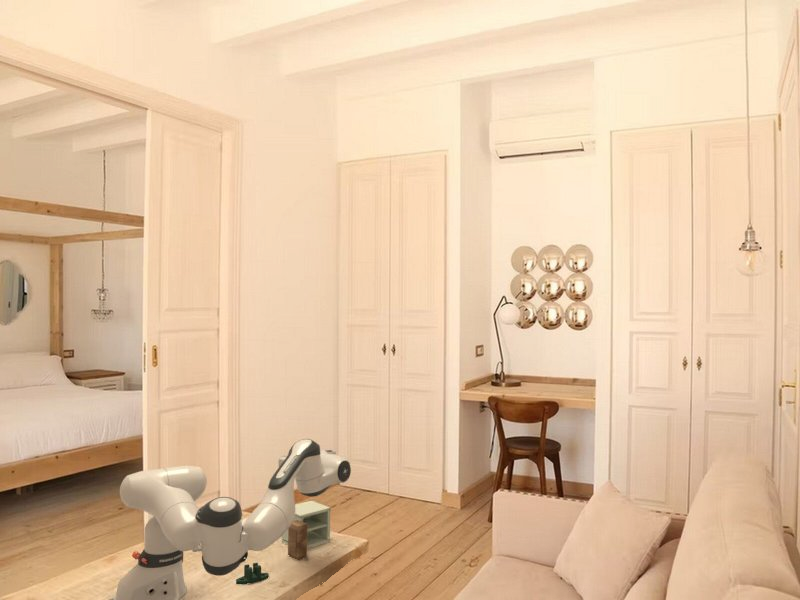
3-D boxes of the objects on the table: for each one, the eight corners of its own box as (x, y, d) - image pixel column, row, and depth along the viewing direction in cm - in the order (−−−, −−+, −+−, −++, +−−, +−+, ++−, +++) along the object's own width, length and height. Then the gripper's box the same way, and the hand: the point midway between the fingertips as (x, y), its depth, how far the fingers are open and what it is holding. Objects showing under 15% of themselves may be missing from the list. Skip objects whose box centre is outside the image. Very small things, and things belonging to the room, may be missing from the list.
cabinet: (300, 552, 236) (301, 516, 236) (279, 542, 246) (280, 508, 246) (332, 542, 246) (332, 508, 247) (311, 533, 256) (311, 500, 256)
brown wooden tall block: (297, 560, 229) (297, 526, 229) (287, 555, 233) (287, 522, 233) (306, 557, 232) (307, 523, 232) (297, 552, 236) (297, 519, 236)
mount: (238, 586, 208) (238, 571, 208) (234, 581, 211) (234, 566, 211) (270, 579, 213) (271, 564, 213) (265, 574, 217) (266, 559, 217)
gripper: (291, 477, 218) (268, 469, 228) (338, 467, 232) (315, 460, 242) (291, 458, 218) (269, 451, 228) (339, 449, 232) (316, 444, 242)
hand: (293, 456), depth 235 cm, fingers open, 8 cm apart
